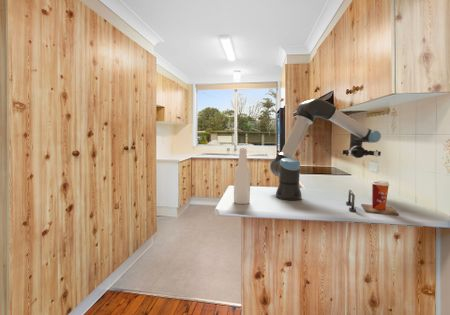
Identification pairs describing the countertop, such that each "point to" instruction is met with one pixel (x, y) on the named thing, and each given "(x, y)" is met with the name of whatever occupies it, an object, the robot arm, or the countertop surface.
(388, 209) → the walnut board
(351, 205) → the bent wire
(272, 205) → the countertop surface
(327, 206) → the countertop surface
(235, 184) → the alcohol
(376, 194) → the paper cup
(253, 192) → the countertop surface
